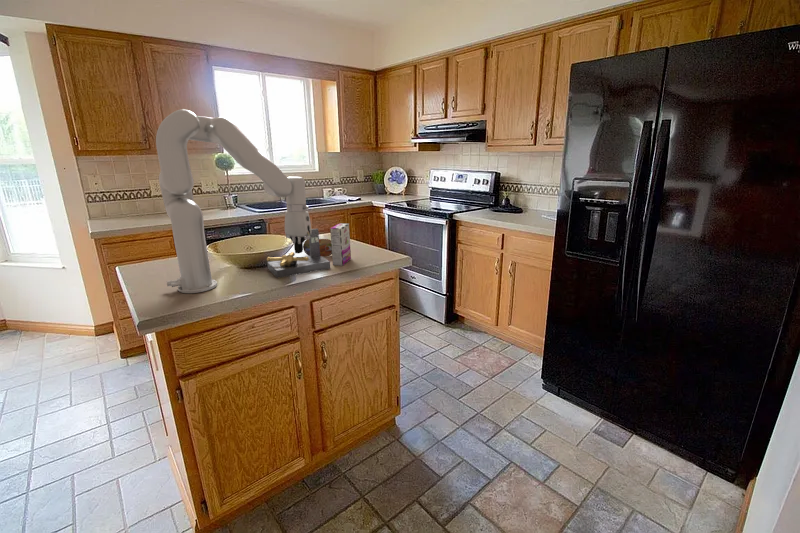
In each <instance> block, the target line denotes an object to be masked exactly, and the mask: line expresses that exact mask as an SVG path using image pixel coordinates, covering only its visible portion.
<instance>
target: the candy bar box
mask: <svg viewBox="0 0 800 533" xmlns="http://www.w3.org/2000/svg"><path fill="white" fill-rule="evenodd" d="M329 230H330V240H331V246H332V255H331V257H332V258H331V259H332V265H333V266H339V267H341V266H345V265H346V264H347V263H348V262H349V261H350V260H351V259H352V254H351V253H352V251H351V237H350V223H338V224H335V225H334V226H332V227H330V228H329Z"/></svg>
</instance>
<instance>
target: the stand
mask: <svg viewBox="0 0 800 533" xmlns="http://www.w3.org/2000/svg"><path fill="white" fill-rule="evenodd" d="M319 239H320V235H319V228H311V235H310V239H309V245H310V256H309V255H305V256H303V257H308V258H309V259H308V261H297V264H295V265H290V266H283V267H282V266H280V263H281V261H267V262H266V265H267V270H268V269H269V270H268V271H269V272H270V273H271V274H273V275H274V276H275V277H276V278H277V279H279V278H278V277H280V278H285V277H290V275H291V276H297V275H302V274H306V273H312V272H318V271H323V270H328V269H331V261H329V260H328V259H327V258H326V257H321V256H320V247H319ZM296 274H297V275H296ZM284 276H285V277H284Z"/></svg>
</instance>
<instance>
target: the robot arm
mask: <svg viewBox="0 0 800 533" xmlns="http://www.w3.org/2000/svg"><path fill="white" fill-rule="evenodd" d="M189 140H190V141H197V142H205V143H215V144H218V145H220V146H221V147H222V149H224V150H225V152H227V153H228V155H229V156H230V157H231V158H233V159H234V161H235V162H236V163H237V164H238V165H239V166H241V167H242V168H243V169H245V170H247V171H249V172H250V173H252V174H254V175H255V176H257V177H258V178H259V179H260V180H261V181H262V182H263V184H262V187H263V189H264V191H265V193H267V194H268V195H269V196H273V197H278V198H286V202H285V203H286V211H285V215H284V233H285V238H287V239H290V240H291V241H292V243H293V244H294V246H293V247H294V253H295V254H300V253H301V254H302V253H303V252H304V249H303V244H304V242H305V241H306V240H308V239H310V235H311V229H312V224H311V217H310V214H309V213H310V212H309V211H307V210H309V208H310V206H308V205H307V202H306V201H307V199H306V198H307V197H306V196H307V195H306V181H305V178H304V176H303V177H302V176H288V177H287V175H285V174H284V172H283V171H282V170H281V169H280V168H279V167H278V165H276V164H275V163H274V162H273V161H272V160H270V159H269V158H268V157H267V156H266V155H265V154H264V153H262V152H261V151H260V150H259V149H258V148H257V147H256V146H255V144H253V142H251V141H250V139H249V138H247V136H246V135H245V134H244V133H243V132H242V131H241V130H240V129H239V128H238V127H237V126H236V124H235V123H234V122H233V121H232V120H231V119H229V118H228V117H225V116H216V117H208V116H200V115H196V114H195V113H194V112H193V111H191V110H188V109H185V108H182V109H177V110H175V111H173V112H171V113H169V115H167V116H166V117H165V118H164V119H163V120H162V121H161V123H160V124H159V125H158V128H157V131H156V137H155V145H156V146H155V147H156V151H157V157H158V164H159V167H160V168H159V169H160V171H159V172H160V173H159V174H158V183H159V188H160V191H161V197H162V200H163V205H164V208H165V212H166V215H167V216H168V218H169V219H170V223H171V227H172V228H171V229H172V236H173V243H174V247H175V252H176V257H177V258H176V259H177V264H178V268H179V269H178V270H179V274H180V275H179V278H176V279H174V280H173V279H172V280H166V285H167V287H171V288H175V287H177V291H178V292H179V293H182V294H196V293H203V292H207V291H210V290H213V289H214V288H216V287H217V286H218V281H217V280H215V279H213V277H212V271H211V265H210V258H209V254H208V246H207V241H206V236H205V235H206V234H205V233H206V232H205V225H204V224H205V223H204V222H205V221H204V215H203V211H202V209H201V207H200V206H199V204H197V203H196V202H195V200H194V194H193V188H194V186H195V184H194V183H195V180H194V177H193V173H192V168H191V165H190V160H189V153H188V143H189Z"/></svg>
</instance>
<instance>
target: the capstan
mask: <svg viewBox="0 0 800 533" xmlns="http://www.w3.org/2000/svg"><path fill="white" fill-rule="evenodd" d="M295 255H296V253H295V251H294V252H293V251H291V252H288V253H287V254H282V255H281V256H277V257H276V256H275V257H272V256H267V258H266V261H267V262H272V261H281V263H280V266H282V267H283V266H290V265H295V264H297V261H308V259H309V258H308V257H304V256H295Z"/></svg>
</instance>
